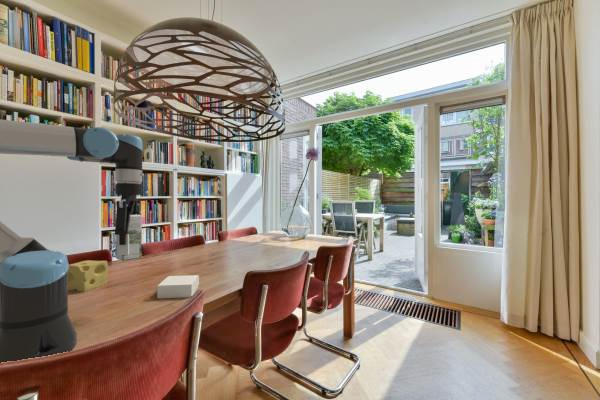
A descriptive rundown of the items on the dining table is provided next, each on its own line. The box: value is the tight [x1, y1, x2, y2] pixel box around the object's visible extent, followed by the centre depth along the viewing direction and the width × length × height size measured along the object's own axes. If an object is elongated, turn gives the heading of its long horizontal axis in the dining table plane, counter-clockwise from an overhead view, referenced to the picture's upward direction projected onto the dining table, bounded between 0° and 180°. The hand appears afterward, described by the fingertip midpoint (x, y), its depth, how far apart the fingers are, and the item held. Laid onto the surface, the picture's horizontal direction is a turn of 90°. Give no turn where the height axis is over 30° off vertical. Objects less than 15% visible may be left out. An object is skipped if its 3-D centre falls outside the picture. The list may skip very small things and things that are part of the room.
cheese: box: [68, 259, 109, 293], centre depth 110 cm, size 10×11×10 cm
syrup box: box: [115, 214, 143, 262], centre depth 89 cm, size 6×6×14 cm
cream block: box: [156, 274, 200, 299], centre depth 106 cm, size 12×12×5 cm
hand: (128, 252), depth 89 cm, fingers closed on syrup box, 8 cm apart
